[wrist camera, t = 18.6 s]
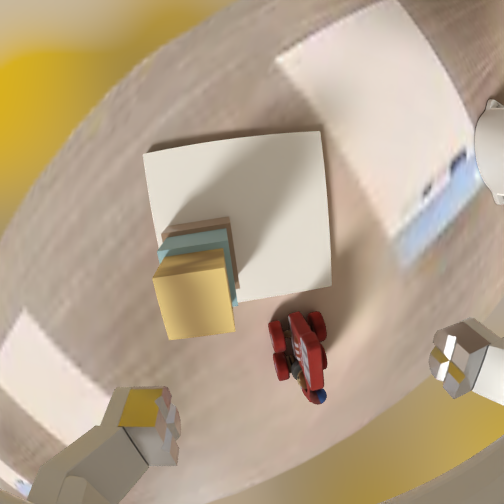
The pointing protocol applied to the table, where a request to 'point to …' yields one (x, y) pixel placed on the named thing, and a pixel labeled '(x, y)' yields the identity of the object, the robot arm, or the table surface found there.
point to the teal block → (201, 243)
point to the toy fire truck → (302, 353)
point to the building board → (250, 207)
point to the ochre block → (194, 294)
